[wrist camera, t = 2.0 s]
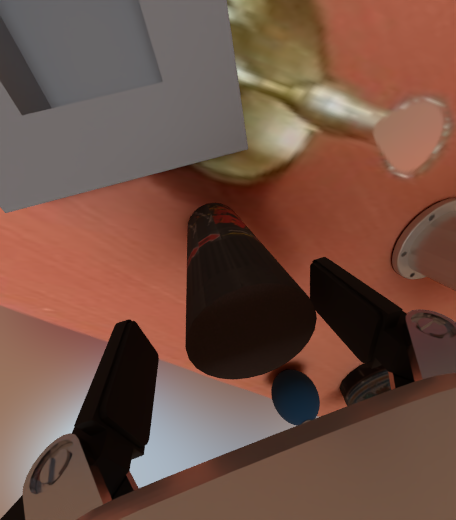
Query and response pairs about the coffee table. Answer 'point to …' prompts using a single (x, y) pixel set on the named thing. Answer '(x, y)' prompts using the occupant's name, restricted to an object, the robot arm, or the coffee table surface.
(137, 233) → the coffee table surface
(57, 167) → the socket block
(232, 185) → the coffee table surface
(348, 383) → the beer stein
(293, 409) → the christmas ornament
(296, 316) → the deodorant
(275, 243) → the coffee table surface
